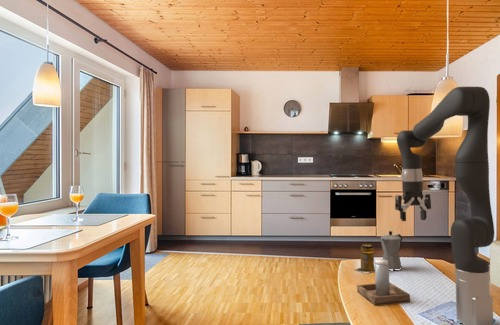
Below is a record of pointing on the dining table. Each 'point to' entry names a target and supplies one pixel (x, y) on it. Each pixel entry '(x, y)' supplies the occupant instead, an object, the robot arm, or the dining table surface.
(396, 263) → the coffeepot
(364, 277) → the dining table surface
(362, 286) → the tray
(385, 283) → the salt shaker
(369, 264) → the condiment
